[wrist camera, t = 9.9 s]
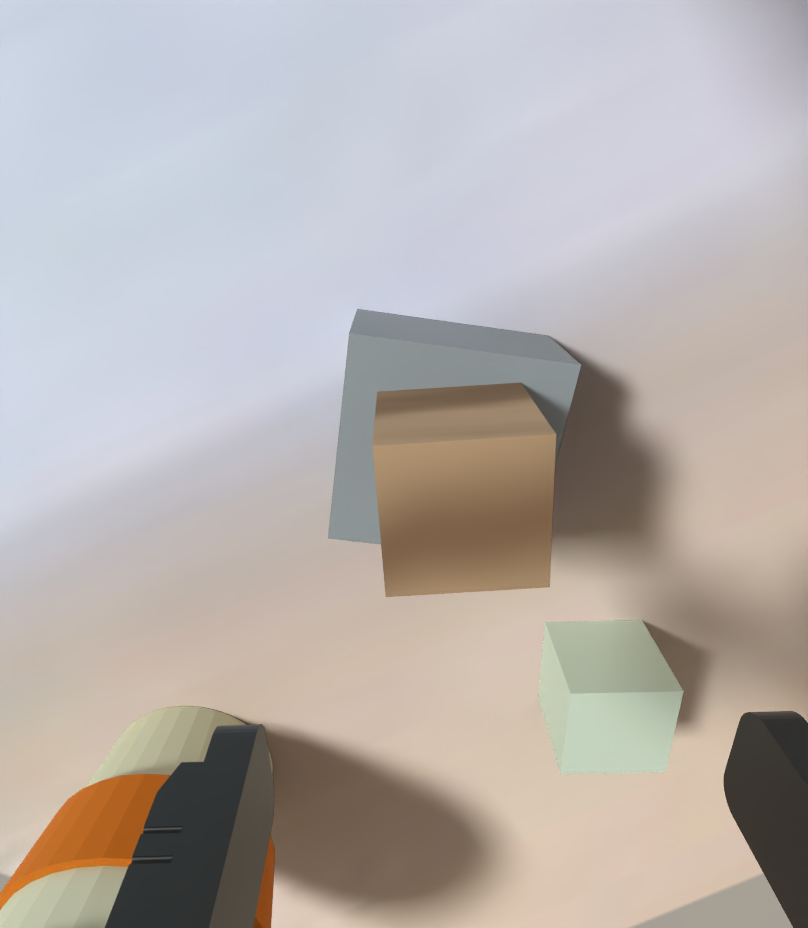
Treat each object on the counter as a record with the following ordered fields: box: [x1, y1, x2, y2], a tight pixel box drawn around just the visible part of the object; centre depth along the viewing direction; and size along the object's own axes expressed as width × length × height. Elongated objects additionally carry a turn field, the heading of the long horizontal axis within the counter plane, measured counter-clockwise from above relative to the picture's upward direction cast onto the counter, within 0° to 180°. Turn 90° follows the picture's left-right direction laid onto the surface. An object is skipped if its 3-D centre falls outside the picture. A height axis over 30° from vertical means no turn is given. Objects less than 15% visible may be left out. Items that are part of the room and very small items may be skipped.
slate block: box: [328, 309, 581, 544], centre depth 24 cm, size 8×8×5 cm
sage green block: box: [538, 620, 684, 774], centre depth 30 cm, size 5×5×5 cm
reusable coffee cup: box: [0, 706, 275, 928], centre depth 28 cm, size 13×13×15 cm
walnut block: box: [372, 383, 556, 597], centre depth 20 cm, size 5×5×5 cm
